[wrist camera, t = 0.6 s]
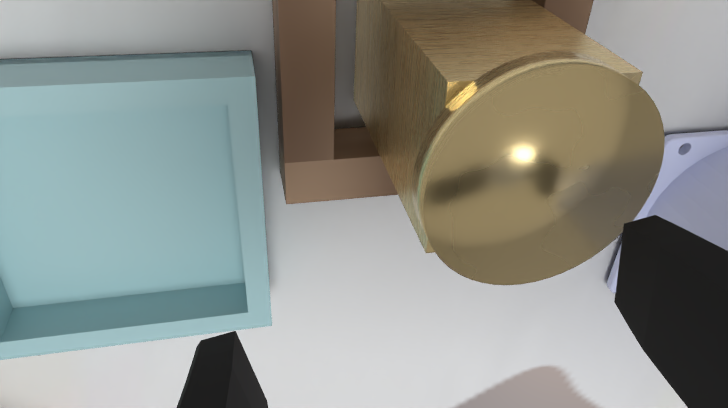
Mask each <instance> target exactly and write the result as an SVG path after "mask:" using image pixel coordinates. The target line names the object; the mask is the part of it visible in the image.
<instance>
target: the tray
mask: <svg viewBox="0 0 728 408" xmlns="http://www.w3.org/2000/svg"><path fill="white" fill-rule="evenodd" d="M265 326H272V318H271V303H270V288H269V273H268V258H267V244H266V229H265V214H264V199H263V184H262V169H261V154H260V140H259V125H258V110H257V95H256V80H255V72H254V66H253V60H252V53H251V51H225V52H197V53H169V54H140V55H112V56H84V57H55V58H27V59H0V360H4V359H12V358H19V357H27V356H35V355H43V354H51V353H59V352H67V351H75V350H83V349H91V348H99V347H107V346H115V345H123V344H130V343H138V342H146V341H154V340H162V339H170V338H178V337H186V336H194V335H202V334H210V333H218V332H226V331H234V330H242V329H249V328H257V327H265Z"/></svg>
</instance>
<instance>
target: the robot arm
mask: <svg viewBox="0 0 728 408" xmlns="http://www.w3.org/2000/svg"><path fill="white" fill-rule="evenodd" d="M683 144H684V145H683ZM682 145H683V146H682ZM681 146H682V147H681ZM680 147H681V148H680ZM679 148H680V149H679ZM607 286H608V288H609V289H610V290H611V292H613V293H616V294H615V303H616V305H617V307H618V309H619V310H620V312H621V314H622V316H623V317H624V319H625V321H626V323H627V324H628V326H629V328H630V329H631V331H632V333H633V334H634V336H635V337H636V339H637V341H638V342H639V344H640V346H641V347H642V349H643V350H644V352H645V353H646V354H647V356H648V357H649V358H650V359H651V361H652V362H653V363H654V365H655V366H656V367H657V369H658V370H659V371H660V372H661V374H662V375H663V376H664V378H665V379H666V380H667V381H668V383H669V384H670V385H671V387H672V388H673V389H674V390H675V392H676V393H677V394H678V395H679V397H680V398H681V399H682V401H683V402H684V403H685V404H686V406H687V407H688V408H728V130H722V131H709V132H695V133H681V134H671V135H667V136H665V142H664V155H663V161H662V166H661V169H660V172H659V175H658V179H657V181H656V183H655V185H654V188H653V190H652V192H651V194H650V196H649V197H648V199H647V201H646V203H645V204H644V206H643V207H642V209H641V210H640V212H639V213H638V214H637V216H636V217H635V218H634V220H633V221H631V222H628V223H624V227H623V235H622V242H621V245H620V248H619V251H618V253H617V256H616V259H615V262H614V264H613V267H612V270H611V273H610V275H609V278H608V281H607ZM177 408H268V404H267V400H266V398H265V396H264V393H263V391H262V389H261V387H260V384H259V382H258V380H257V378H256V376H255V373H254V371H253V369H252V367H251V364H250V362H249V360H248V358H247V355H246V353H245V351H244V349H243V347H242V344H241V342H240V340H239V338H238V335H237V333H236V331H234V332H230V333H226V334H223V335H219V336H216V337H212V338H208V339H205V340H201V341H200V343H199V344H198V346H197V348H196V351H195V355H194V358H193V361H192V364H191V367H190V370H189V374H188V377H187V380H186V383H185V386H184V388H183V391H182V394H181V397H180V400H179V403H178V405H177Z"/></svg>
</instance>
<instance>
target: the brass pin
mask: <svg viewBox="0 0 728 408" xmlns="http://www.w3.org/2000/svg"><path fill="white" fill-rule="evenodd" d="M642 73H643V72H642V71H640V70H639V69H637V68H636V67H634V66H632V65H631V64H629V63H628V62H626V61H625V60H623V59H622V58H620V57H619V56H617V55H616V54H614V53H612V52H611V51H609V50H608V49H606V48H605V47H603V46H602V45H600V44H599V43H597V42H595V41H594V40H592V39H591V38H589V37H588V36H586V35H585V34H583V33H582V32H580V31H579V30H577V29H575V28H574V27H572V26H571V25H569V24H568V23H566V22H565V21H563V20H562V19H560V18H558V17H557V16H555V15H554V14H552V13H551V12H549V11H548V10H546V9H545V8H543V7H542V6H540V5H538V4H537V3H535V2H534V1H532V0H357V15H356V45H355V75H354V102H355V104H356V106H357V108H358V110H359V112H360V114H361V117H362V119H363V121H364V123H365V125H366V127H367V129H368V131H369V134H370V136H371V138H372V140H373V142H374V144H375V146H376V148H377V151H378V153H379V155H380V157H381V159H382V161H383V163H384V165H385V167H386V170H387V172H388V174H389V176H390V178H391V180H392V182H393V184H394V187H395V189H396V191H397V193H398V195H399V197H400V199H401V201H402V204H403V206H404V208H405V210H406V212H407V214H408V216H409V218H410V220H411V223H412V225H413V227H414V229H415V231H416V233H417V235H418V237H419V240H420V242H421V244H422V246H423V248H424V250H425V252H426V253H432V252H435V253H436V254H437V255H438V257H439V258H440V259H441V260H442V261H443V262H444V263H445V264H446V265H447V266H448V267H449V268H451V269H452V270H454V271H455V272H457V273H458V274H460V275H462V276H464V277H467V278H469V279H471V280H475V281H478V282H481V283H488V284H494V285H516V284H525V283H530V282H536V281H539V280H543V279H547V278H550V277H553V276H555V275H558V274H561V273H563V272H565V271H567V270H570V269H572V268H574V267H576V266H578V265H579V264H581V263H583V262H585V261H586V260H588V259H590V258H591V257H593V256H594V255H596V254H597V253H598V252H600V251H601V250H603V249H604V248H605V247H606V246H607V245H609V244H610V243H611V242H612V241H614V240H615V239H616V238H617V237H618V236H619V235H620V234H621V233H622V232H623V227H624V223H628V222H631V221H633V220H634V218H635V217H636V216H637V214H638V213H639V212H640V210H641V209H642V207H643V206H644V204H645V203H646V201H647V199H648V197H649V196H650V194H651V192H652V190H653V188H654V185H655V183H656V181H657V179H658V175H659V172H660V169H661V166H662V161H663V155H664V142H665V137H664V129H663V123H662V120H661V117H660V113H659V111H658V109H657V107H656V105H655V103H654V101H653V100H652V99H651V98H650V96H649V95H648V94H647V93H646V91H645V90H643V89H642V88H641V87H640V86H639V83H640V80H641V77H642Z"/></svg>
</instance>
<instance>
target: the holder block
mask: <svg viewBox="0 0 728 408" xmlns="http://www.w3.org/2000/svg"><path fill="white" fill-rule="evenodd" d="M532 1H534V2H535V3H537V4H538V5H540V6H542V7H543V8H545V9H546V10H548V11H549V12H551V13H552V14H554V15H555V16H557V17H558V18H560V19H562V20H563V21H565V22H566V23H568V24H569V25H571V26H572V27H574V28H575V29H577V30H579V31H580V32H582V33H583V34H585V32H586V28H587V24H588V20H589V16H590V12H591V8H592V4H593V1H594V0H532ZM272 6H273V27H274V49H275V70H276V92H277V113H278V135H279V156H280V173H281V178H282V184H283V189H284V194H285V200H286V204H294V203H306V202H317V201H329V200H341V199H352V198H364V197H375V196H387V195H398V193H397V191H396V189H395V187H394V184H393V182H392V180H391V178H390V176H389V174H388V172H387V170H386V167H385V165H384V163H383V161H382V159H381V157H380V155H379V153H378V151H377V148H376V146H375V144H374V142H373V140H372V138H371V136H370V134H369V131H368V129H367V127H358V128H342V129H334V103H335V27H336V0H272Z"/></svg>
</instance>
